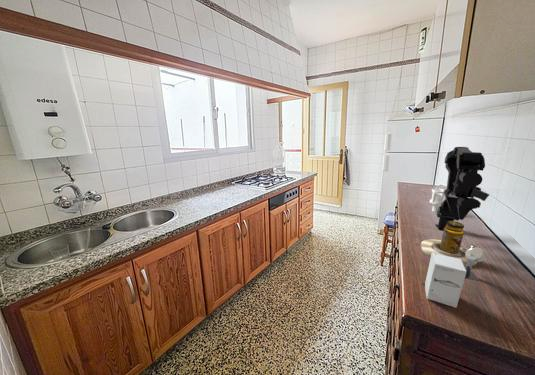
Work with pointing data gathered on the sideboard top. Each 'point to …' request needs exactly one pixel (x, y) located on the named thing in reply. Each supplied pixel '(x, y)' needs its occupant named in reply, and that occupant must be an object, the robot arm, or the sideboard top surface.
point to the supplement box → (445, 279)
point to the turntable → (429, 249)
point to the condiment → (451, 238)
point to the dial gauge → (473, 260)
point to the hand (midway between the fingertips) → (456, 215)
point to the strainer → (437, 198)
